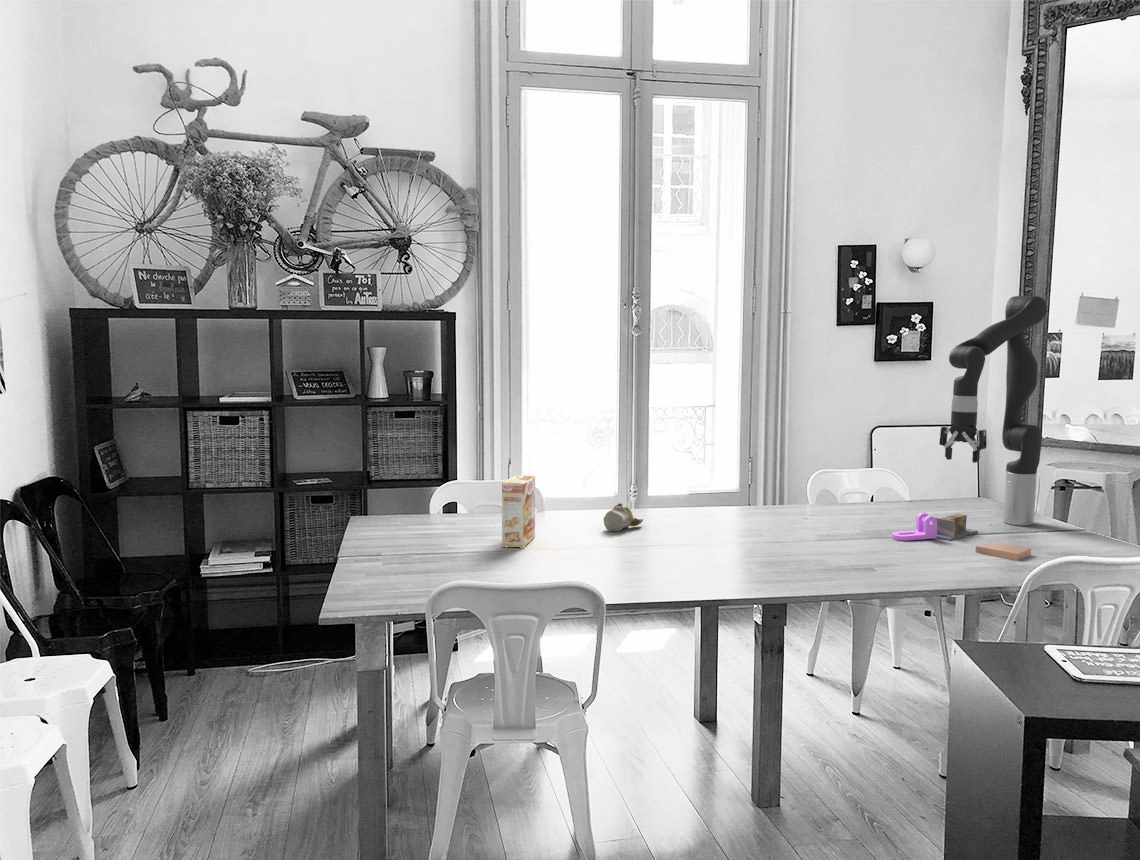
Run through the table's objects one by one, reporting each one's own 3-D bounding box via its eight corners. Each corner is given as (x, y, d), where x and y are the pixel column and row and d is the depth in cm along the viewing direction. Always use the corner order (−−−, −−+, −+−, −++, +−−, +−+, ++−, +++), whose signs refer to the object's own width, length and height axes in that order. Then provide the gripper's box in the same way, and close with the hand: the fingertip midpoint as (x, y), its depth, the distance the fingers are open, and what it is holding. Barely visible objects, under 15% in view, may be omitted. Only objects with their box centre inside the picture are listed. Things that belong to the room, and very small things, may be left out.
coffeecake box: (524, 548, 277) (524, 483, 275) (500, 547, 278) (500, 482, 276) (536, 537, 292) (536, 475, 289) (514, 536, 293) (513, 474, 291)
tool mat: (953, 528, 306) (954, 526, 306) (977, 532, 300) (978, 530, 300) (925, 536, 294) (925, 534, 294) (949, 540, 288) (949, 538, 288)
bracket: (927, 533, 295) (927, 512, 294) (936, 538, 290) (937, 516, 289) (888, 536, 293) (888, 515, 292) (897, 541, 288) (897, 519, 287)
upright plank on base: (950, 527, 304) (951, 512, 303) (971, 531, 298) (972, 516, 298) (931, 533, 296) (932, 517, 295) (952, 537, 291) (953, 521, 290)
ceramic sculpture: (595, 504, 300) (616, 499, 313) (594, 530, 300) (615, 524, 313) (625, 507, 295) (645, 502, 308) (624, 534, 295) (644, 528, 308)
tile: (989, 541, 280) (975, 546, 274) (1031, 548, 271) (1017, 553, 265) (989, 548, 280) (975, 553, 274) (1030, 556, 271) (1017, 561, 265)
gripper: (992, 410, 292) (989, 462, 294) (948, 407, 303) (946, 457, 305) (980, 412, 287) (978, 464, 289) (936, 409, 298) (934, 459, 300)
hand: (961, 460), depth 297 cm, fingers open, 8 cm apart
